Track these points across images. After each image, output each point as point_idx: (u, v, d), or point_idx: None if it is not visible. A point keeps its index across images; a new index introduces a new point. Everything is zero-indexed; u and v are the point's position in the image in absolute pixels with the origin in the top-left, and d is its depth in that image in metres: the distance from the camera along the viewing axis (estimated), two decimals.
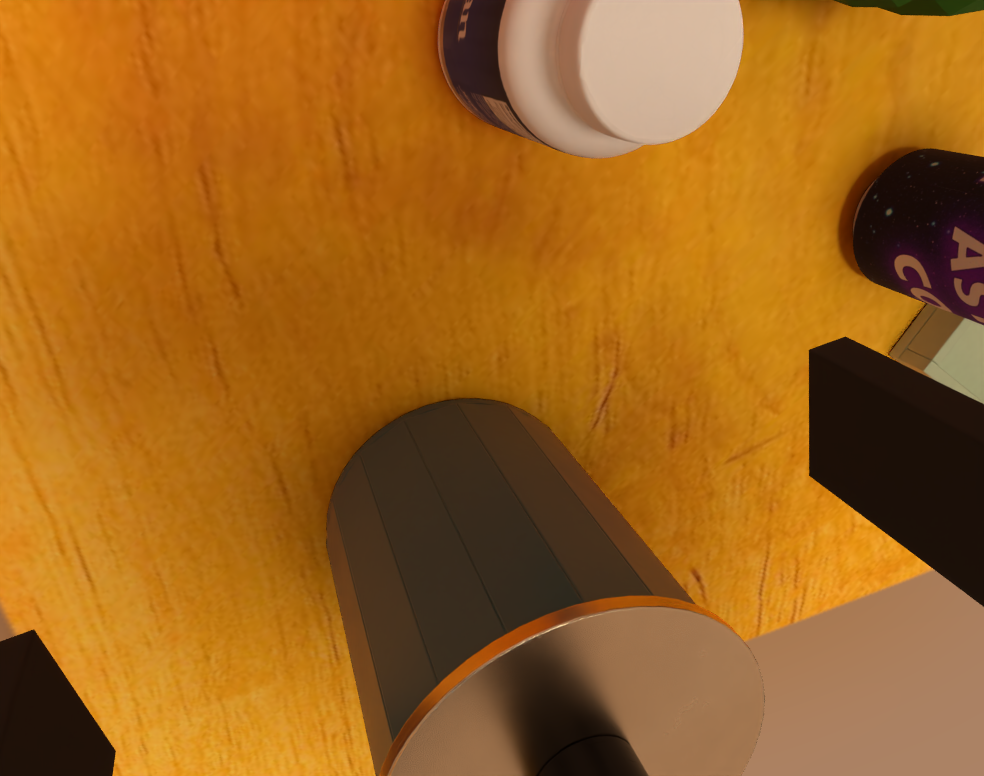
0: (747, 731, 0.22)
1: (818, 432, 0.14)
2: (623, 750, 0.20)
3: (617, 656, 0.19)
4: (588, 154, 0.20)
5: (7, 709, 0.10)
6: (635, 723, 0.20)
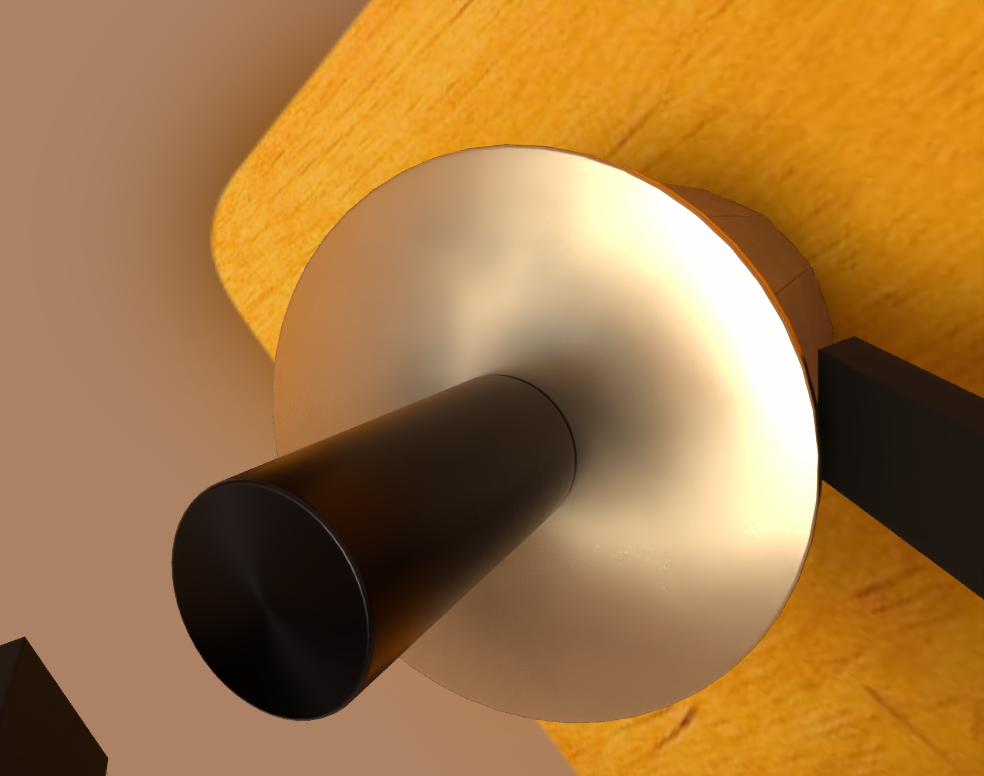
0: (633, 691, 0.14)
1: (827, 432, 0.14)
2: (567, 468, 0.14)
3: (707, 381, 0.13)
4: None
5: None
6: (602, 484, 0.14)
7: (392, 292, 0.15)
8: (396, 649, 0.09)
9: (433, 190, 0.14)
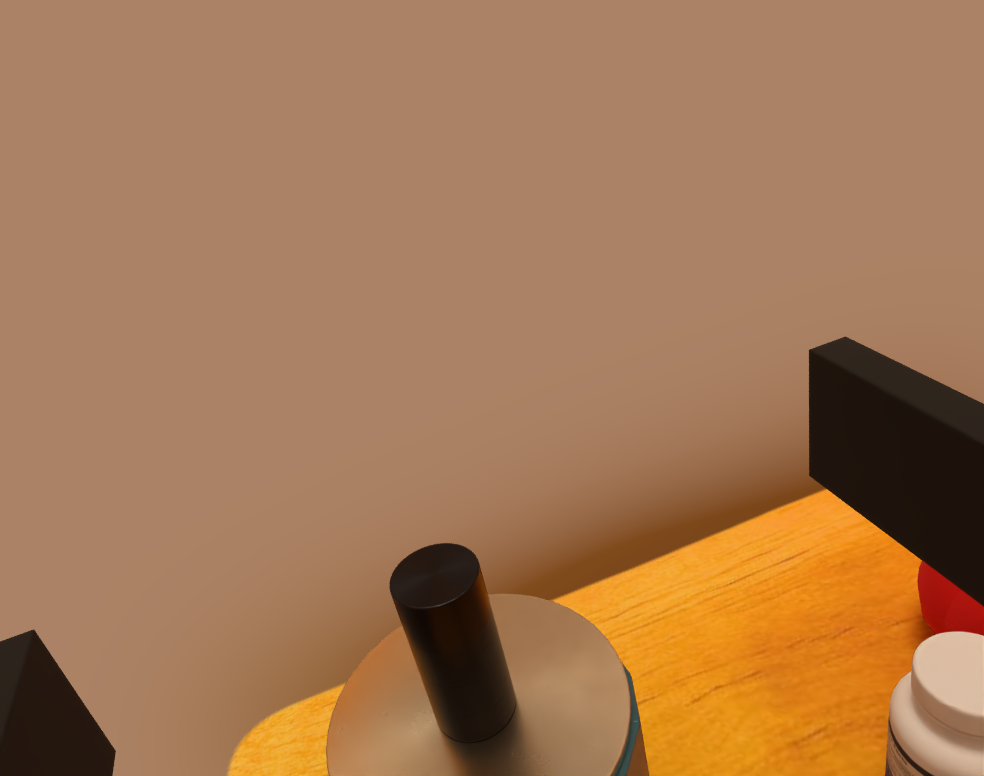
0: None
1: (818, 432, 0.14)
2: (511, 702, 0.27)
3: (586, 682, 0.28)
4: (899, 724, 0.30)
5: (8, 709, 0.10)
6: (524, 722, 0.27)
7: None
8: (470, 605, 0.24)
9: None
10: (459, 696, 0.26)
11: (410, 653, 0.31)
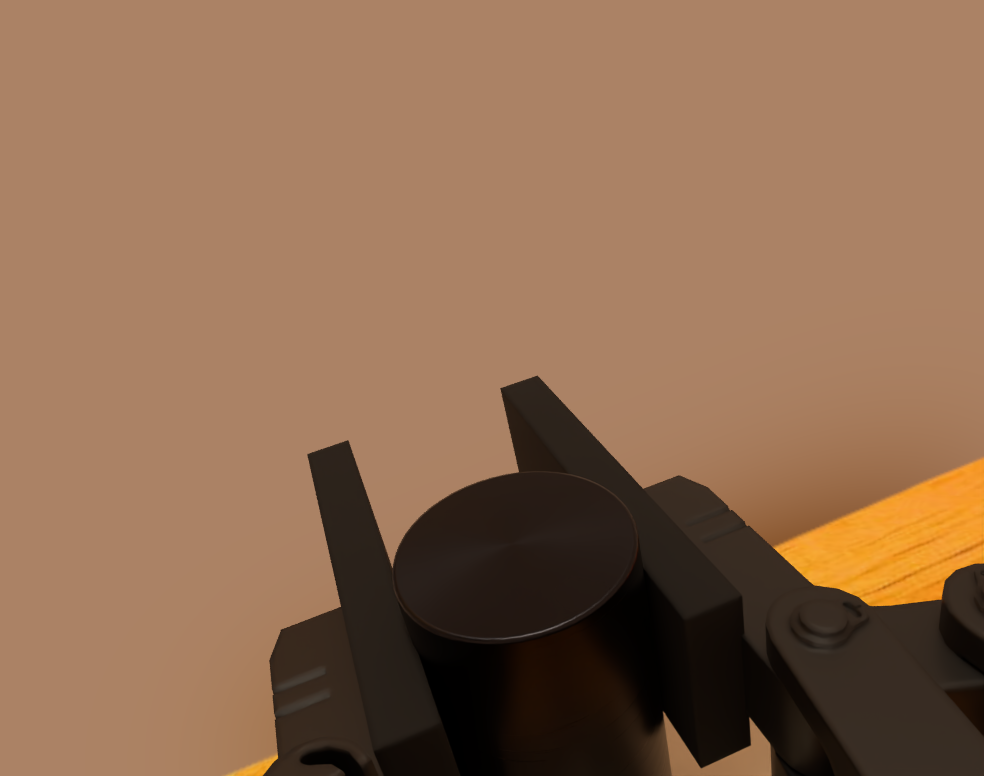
0: None
1: (520, 464, 0.15)
2: None
3: None
4: None
5: (360, 482, 0.12)
6: None
7: None
8: (623, 632, 0.09)
9: None
10: None
11: None
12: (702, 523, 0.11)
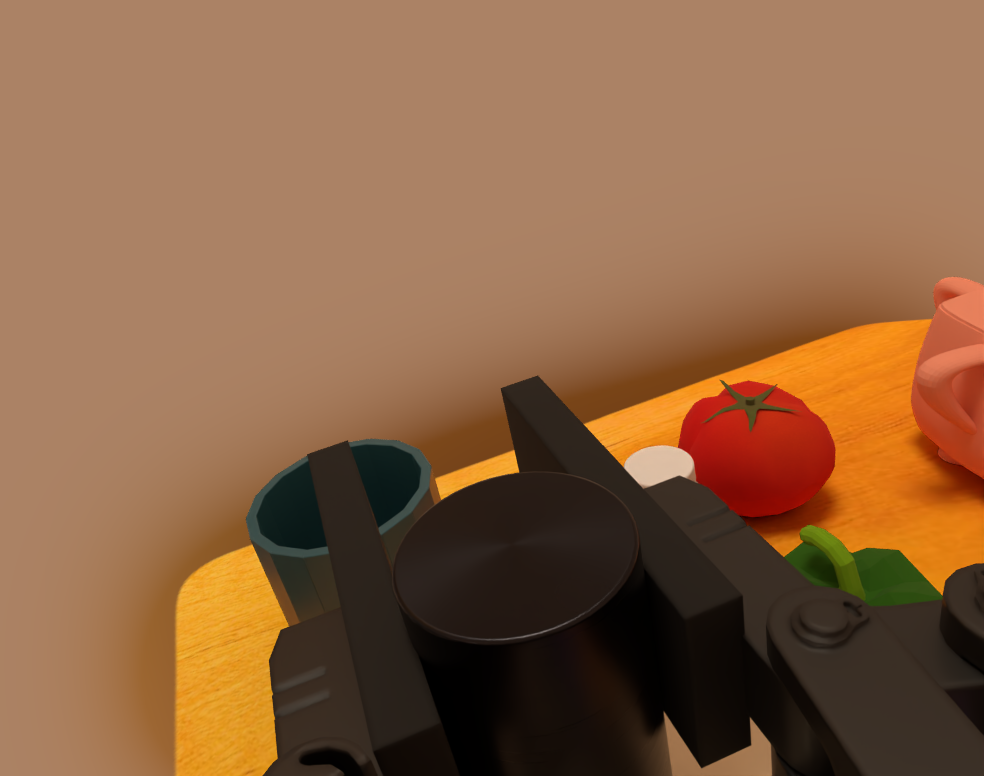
0: None
1: (520, 463, 0.15)
2: None
3: None
4: None
5: (360, 482, 0.12)
6: None
7: None
8: (623, 633, 0.09)
9: None
10: None
11: None
12: (702, 522, 0.11)
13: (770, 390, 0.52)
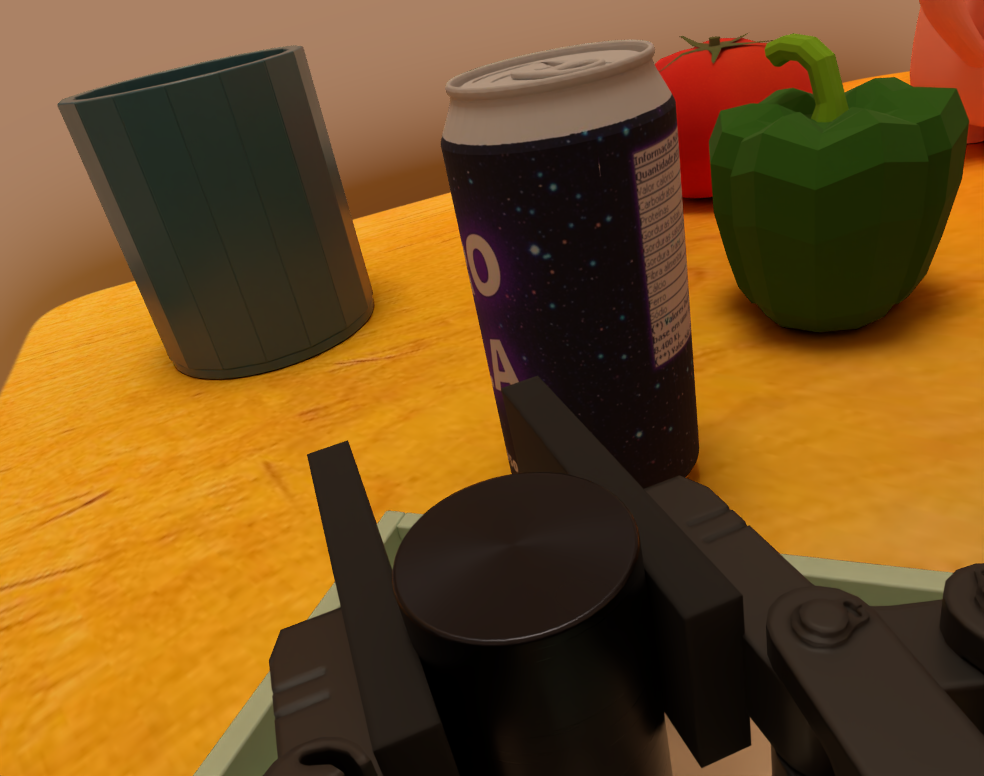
0: None
1: (520, 463, 0.15)
2: None
3: None
4: None
5: (360, 482, 0.12)
6: None
7: None
8: (624, 634, 0.09)
9: None
10: None
11: None
12: (703, 522, 0.11)
13: (739, 37, 0.42)
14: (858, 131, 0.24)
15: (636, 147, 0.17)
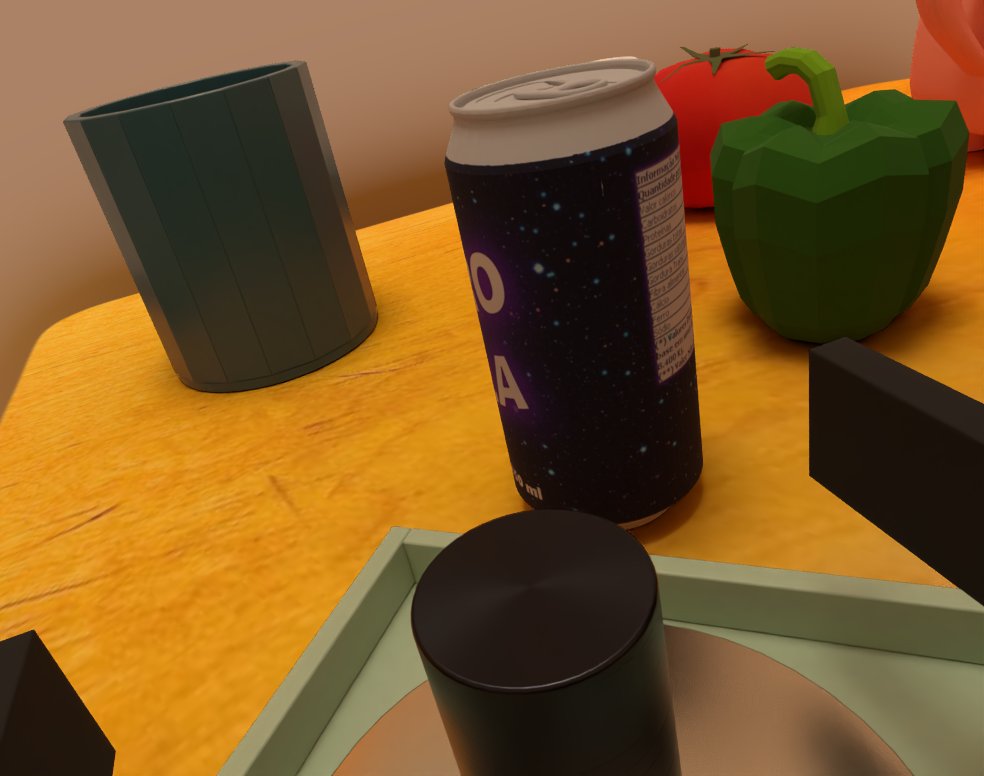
0: None
1: (818, 432, 0.14)
2: None
3: None
4: None
5: (8, 709, 0.10)
6: None
7: None
8: (643, 678, 0.09)
9: None
10: None
11: (442, 745, 0.15)
12: None
13: (740, 48, 0.43)
14: (859, 145, 0.24)
15: (638, 167, 0.17)
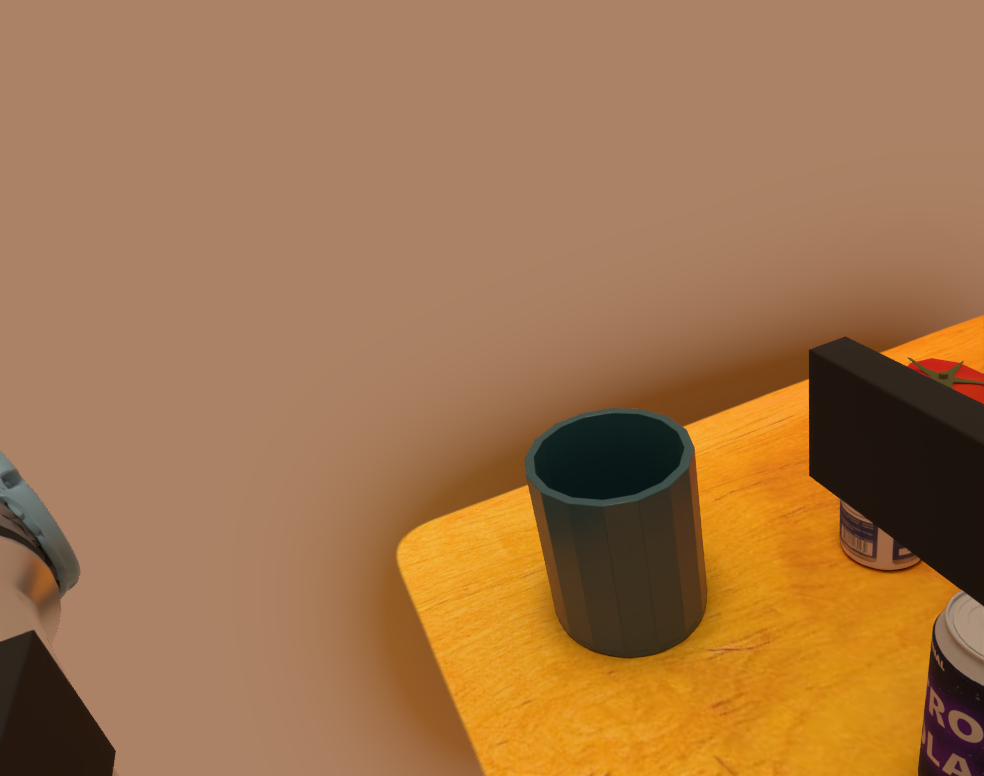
0: None
1: (818, 432, 0.14)
2: None
3: None
4: None
5: (7, 709, 0.10)
6: None
7: None
8: None
9: None
10: None
11: None
12: None
13: (958, 366, 0.57)
14: None
15: None
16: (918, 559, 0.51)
